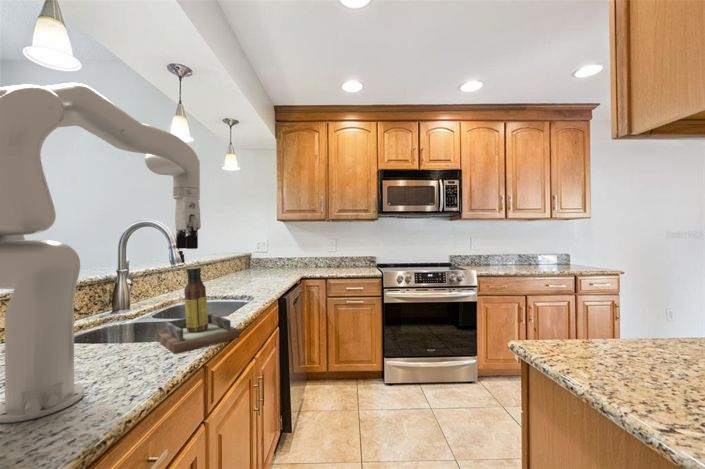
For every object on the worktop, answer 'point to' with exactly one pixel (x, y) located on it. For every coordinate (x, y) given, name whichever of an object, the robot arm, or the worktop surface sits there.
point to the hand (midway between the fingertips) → (186, 248)
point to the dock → (196, 334)
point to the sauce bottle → (195, 302)
